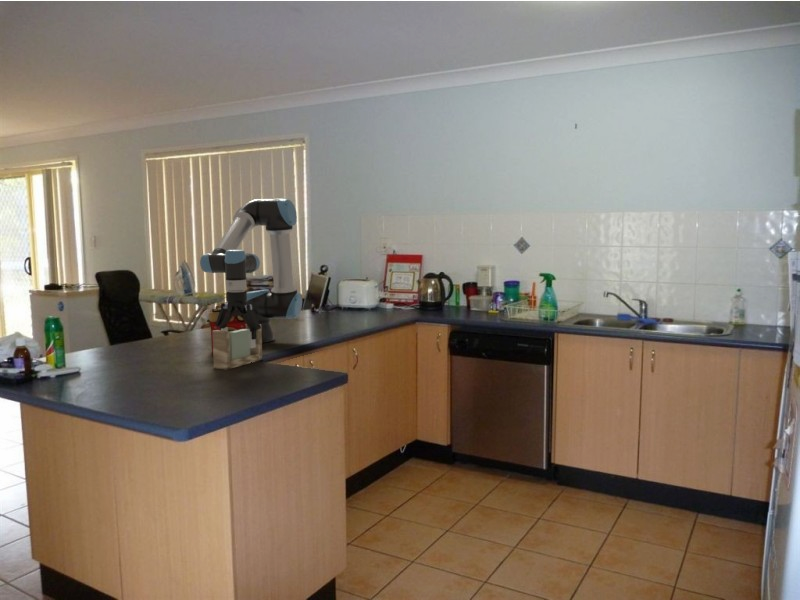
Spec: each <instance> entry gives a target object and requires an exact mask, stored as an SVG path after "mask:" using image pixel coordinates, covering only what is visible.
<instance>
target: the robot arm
mask: <svg viewBox="0 0 800 600" xmlns="http://www.w3.org/2000/svg"><path fill="white" fill-rule="evenodd" d="M297 218H298V217H297V211H296V207H295V204H294V203H293V201H292V200H291V199H289V198H280V197H279V198H255V199H253V200H250V201H248V202H246V203H245V204H243V205H242V206H241V207H240V208H239V209H237V211H236V212H235V214H234V215H233V217H232V222H231V224H230V225H229V227H228V228H227V230H226V231H225V233H224V234H223V235H222V237H221V238H220V240H219V241H218V243H217V244H216V246H215V247H214V249H213V251H212V252H211V253H204V254H202V255H201V257H200V259H199V264H200V265H199V266H200V268H201V271H202V272H204V273H208V274H210V273H211V274H225V289H226V293H225V294H226V295H225V297H226V299H225V300H226V302H222V303H221V304H220V305H221V308H220V309H221V310H220V313H219V315H218V318H217V321H216V324H215V325H216V326H218V327H219V328H220V330H223V331H228V328H225V327H227V326H226V325H227V324H228V322H229V321H230V319H231V318H232V316H234V315H236V316H240V317H242V318H243V320H244V321H245V323H246V324H247V326H248V327H249V329H250V331H249V348H250V349H251V348H255V347H256V343H255V339H256V338H257V335H256V331H257V330H258V329H261V332H262V344H263V343H269V342H272V341H275V334H274V331H273V327H272V325H271V319H286V320H288V319H289V320H290V319H297V318H298V317H299V315H301V314H300V313H301V311H302V307H303V306H302V305H303V296H302V293H300V292H298V288H297V287H296V286H295V285H294V277H293V276H294V275H293V264H292V263H293V262H292V252H291V251H292V249H291V248H292V247H291V237H290V233H291V231H292V230H293V229H294V228H293V226H295V225H296V223H297ZM257 226H265V231H266V232H267V233H268V234H269V239H270V241H269V242H270V253H271V264H272V278H273V279H272V280H273V287H272V288H271V289H270V290H269V289H260V290H253V291H247V289H248V288H247V274H252V273H254V272H256V271H257V270H258V269H259V268H260V265H261V262H260V259H259V256H258V255H256V254H254V253H249V252H247V253H246V251H245V250H244V249H239V247H240V245H241V244H242V242H243V240H244V239H245V237H246V236H247V234H248V233H249V232H251V231H252V230H253V229H254V228H255V227H257ZM227 309H229V310H228V312H227ZM226 312H227V313H226ZM225 315H226V316H225ZM260 324H261V326H260Z"/></svg>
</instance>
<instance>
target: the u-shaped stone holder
mask: <svg viewBox="0 0 800 600" xmlns="http://www.w3.org/2000/svg"><path fill="white" fill-rule="evenodd" d="M260 326H261V324H260ZM246 329H249V327H248V326H247V324H246ZM249 330H250V329H249ZM212 332H213V355H212V356H213V357H212V358H213V369H218V370H227V371H228V370H230V369H234V368H237V367H241V366H243V365H248V364H251V362H252V363H255V362H259V361H261V360H263V343H262V332H261V329H258V330H257V331H256V335H257V338H256V339H255V343H256V347H255V348H251V349H250V356H247V357H243V358H239V359H235V360H231V361H230V343H229V331H223V330H213V331H212Z"/></svg>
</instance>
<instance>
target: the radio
mask: <svg viewBox="0 0 800 600" xmlns="http://www.w3.org/2000/svg"><path fill="white" fill-rule="evenodd" d="M220 310H221V304H217V305H216V306H215V307H214V308H211V310H210V311H209V313H208V319H209V322H210V335H211V337H210V338H211V339H210V340H211V353H212V356H213V332H212V331H213V330H220V328H219V327H218V326H216V325H215V324H216V321H217V318H218V315H219V313H220ZM228 310H229V309H227V312H228ZM227 312H226V313H227ZM225 316H226V315H225ZM226 326H227V327H225V328H228V331H229V332H231V331H236V330H241V329H246V323H245V321H244V320H243V318H242V317H240V316H236V315H234V316H232V318H231V319H230V321H229V322H228V324H227V325H226Z"/></svg>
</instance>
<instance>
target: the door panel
mask: <svg viewBox="0 0 800 600" xmlns="http://www.w3.org/2000/svg"><path fill="white" fill-rule="evenodd" d="M249 331H250V330H249V329H241V330H236V331H231V332H229V343H230V361H231V360H235V359H239V358H243V357H247V356H250V348H249Z"/></svg>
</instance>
